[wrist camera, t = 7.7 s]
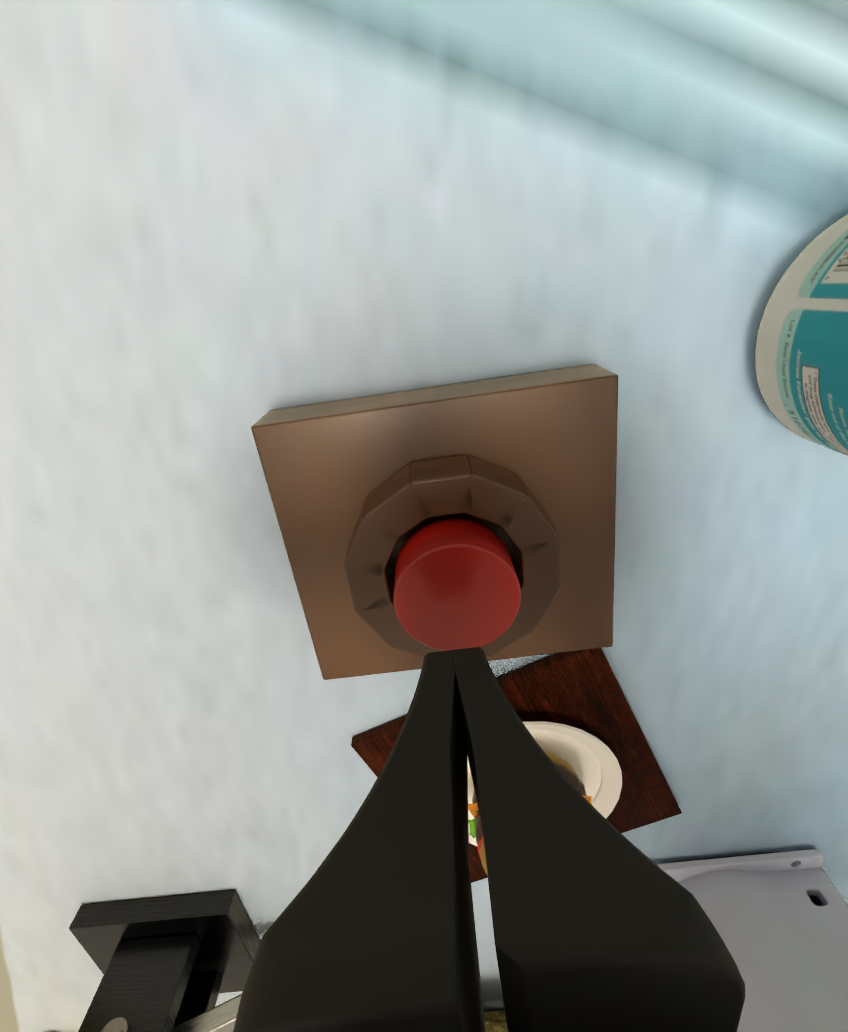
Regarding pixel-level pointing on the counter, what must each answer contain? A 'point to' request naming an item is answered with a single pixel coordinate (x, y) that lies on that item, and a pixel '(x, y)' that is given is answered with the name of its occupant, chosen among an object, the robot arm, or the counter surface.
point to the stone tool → (495, 1021)
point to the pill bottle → (809, 342)
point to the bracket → (164, 958)
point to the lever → (213, 1019)
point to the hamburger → (567, 743)
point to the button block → (449, 506)
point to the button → (455, 585)
